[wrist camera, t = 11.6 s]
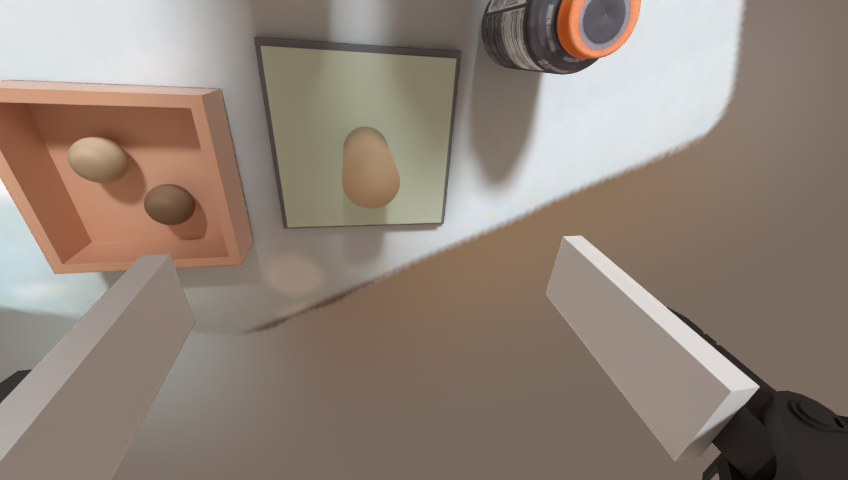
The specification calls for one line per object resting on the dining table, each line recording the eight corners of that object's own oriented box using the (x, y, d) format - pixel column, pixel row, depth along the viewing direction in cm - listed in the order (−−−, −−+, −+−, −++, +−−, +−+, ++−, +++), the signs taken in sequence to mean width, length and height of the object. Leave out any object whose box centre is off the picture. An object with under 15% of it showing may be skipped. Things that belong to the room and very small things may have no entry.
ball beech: (79, 131, 24) (45, 142, 22) (130, 132, 25) (103, 143, 22) (97, 174, 26) (67, 189, 23) (144, 174, 27) (121, 189, 24)
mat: (255, 37, 24) (253, 36, 24) (458, 51, 27) (460, 51, 27) (285, 225, 31) (284, 228, 31) (442, 220, 34) (443, 223, 34)
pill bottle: (560, -12, 26) (683, -45, 17) (538, 72, 29) (632, 86, 19) (489, -29, 25) (577, -75, 15) (472, 62, 28) (538, 71, 18)
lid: (262, 45, 24) (223, 45, 17) (453, 58, 27) (494, 63, 19) (289, 223, 31) (269, 280, 23) (439, 219, 34) (465, 268, 26)
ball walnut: (150, 178, 27) (128, 193, 24) (195, 178, 27) (178, 192, 25) (163, 215, 28) (143, 233, 26) (205, 214, 29) (190, 231, 26)
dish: (8, 79, 23) (-52, 85, 19) (221, 88, 25) (201, 95, 22) (89, 247, 29) (54, 273, 26) (253, 240, 32) (241, 264, 28)
